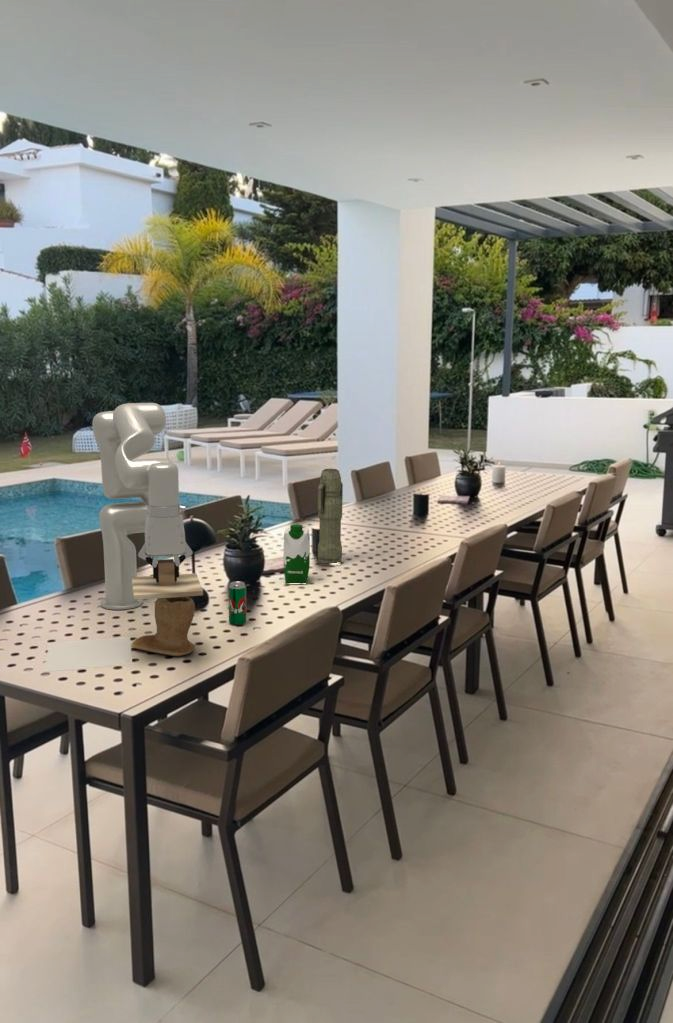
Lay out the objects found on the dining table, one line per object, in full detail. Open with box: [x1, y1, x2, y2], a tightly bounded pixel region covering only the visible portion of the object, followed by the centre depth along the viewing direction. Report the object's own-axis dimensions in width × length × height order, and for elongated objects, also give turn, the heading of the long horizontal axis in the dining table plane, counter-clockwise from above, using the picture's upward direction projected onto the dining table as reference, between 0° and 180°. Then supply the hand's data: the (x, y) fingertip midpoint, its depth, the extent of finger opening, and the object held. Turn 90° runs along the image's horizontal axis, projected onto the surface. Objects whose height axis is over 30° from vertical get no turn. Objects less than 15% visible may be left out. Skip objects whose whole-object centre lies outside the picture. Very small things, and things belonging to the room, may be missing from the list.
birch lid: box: [132, 558, 204, 600], centre depth 221 cm, size 17×17×7 cm
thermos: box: [317, 468, 344, 563], centre depth 312 cm, size 9×12×35 cm
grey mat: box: [43, 636, 133, 673], centre depth 221 cm, size 21×21×1 cm
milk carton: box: [283, 523, 311, 584], centre depth 290 cm, size 9×9×20 cm
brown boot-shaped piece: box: [131, 596, 196, 657], centre depth 224 cm, size 15×12×15 cm
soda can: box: [227, 580, 247, 626], centre depth 247 cm, size 5×5×12 cm
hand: (166, 579), depth 222 cm, fingers closed on birch lid, 3 cm apart
